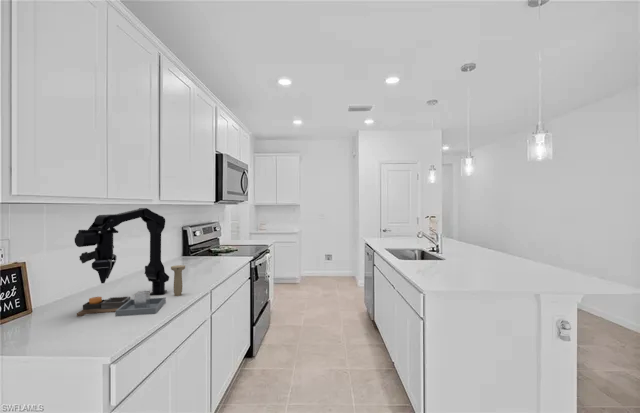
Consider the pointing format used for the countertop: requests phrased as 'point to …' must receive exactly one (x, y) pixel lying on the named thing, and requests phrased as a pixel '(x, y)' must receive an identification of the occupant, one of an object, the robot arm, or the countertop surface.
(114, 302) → the brown wood panel
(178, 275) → the handle
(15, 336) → the countertop surface
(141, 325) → the countertop surface
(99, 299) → the button
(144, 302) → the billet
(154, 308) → the tote
